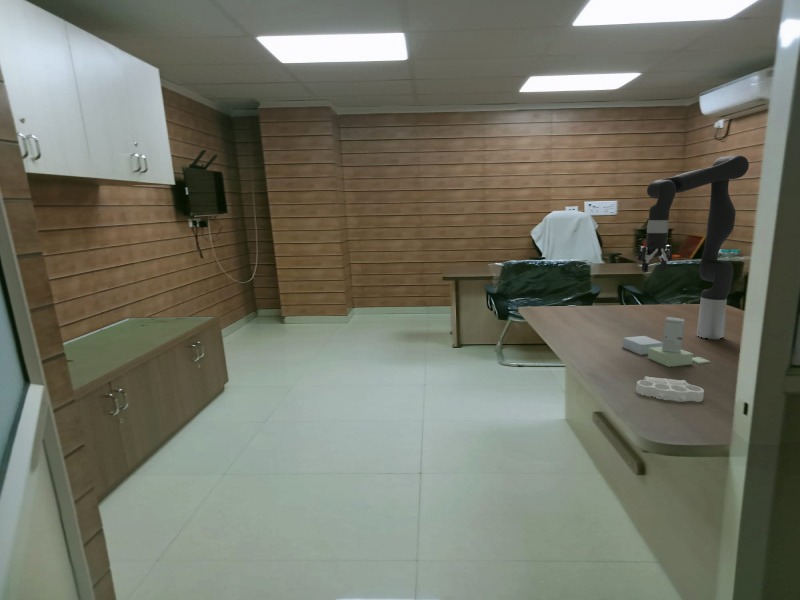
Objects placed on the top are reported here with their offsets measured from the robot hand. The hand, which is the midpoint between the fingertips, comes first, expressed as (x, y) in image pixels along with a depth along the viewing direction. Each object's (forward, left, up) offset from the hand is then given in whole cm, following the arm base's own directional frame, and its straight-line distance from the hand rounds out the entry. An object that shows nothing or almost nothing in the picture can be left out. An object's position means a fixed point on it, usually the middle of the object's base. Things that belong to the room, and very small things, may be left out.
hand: (653, 271), depth 189 cm
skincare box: (+10, +23, -26) cm, 36 cm away
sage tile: (0, +26, -30) cm, 39 cm away
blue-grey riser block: (+10, +9, -30) cm, 33 cm away
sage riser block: (+10, +23, -30) cm, 39 cm away
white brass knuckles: (+33, +47, -31) cm, 65 cm away
